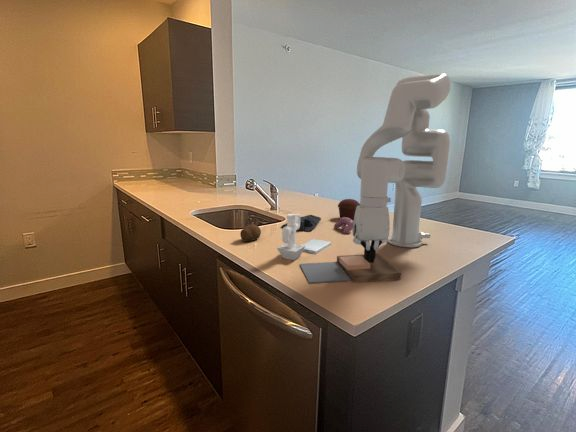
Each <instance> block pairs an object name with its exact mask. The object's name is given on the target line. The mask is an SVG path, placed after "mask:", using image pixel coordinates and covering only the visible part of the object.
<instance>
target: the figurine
mask: <svg viewBox="0 0 576 432" xmlns="http://www.w3.org/2000/svg"><path fill="white" fill-rule="evenodd" d="M300 217H301V214H300V213H289V214H286V223H287V226H285V227H284V228H282V232H281V237H282V238H281V240H282V242H283V244H282V245H280V246H277V248H276V250H277V251H278V252H279V254H280V256H281V258H282V259H287V260H292V261H295V260H296V259H298V258H300V257H301V255H302V254H303V252H304V251H303V250H304V248H305V245H303V244H300V243H299V244H298V243H297V240H296V239H297V237H296V236H297V235H296V232H297V231H296V230H298V229H299V228H300Z"/></svg>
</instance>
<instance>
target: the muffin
mask: <svg viewBox="0 0 576 432" xmlns="http://www.w3.org/2000/svg"><path fill="white" fill-rule="evenodd" d="M357 206H360V201H357V200H356V199H354V198H345V199H343V200H341V201H339V202H338V204H337V207H338V211H339V212H338V213H339V220H340V219H341V218H342V217H344V218H345V217H347V218H350V219H352V220H354V216H355V211H356V207H357Z"/></svg>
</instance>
